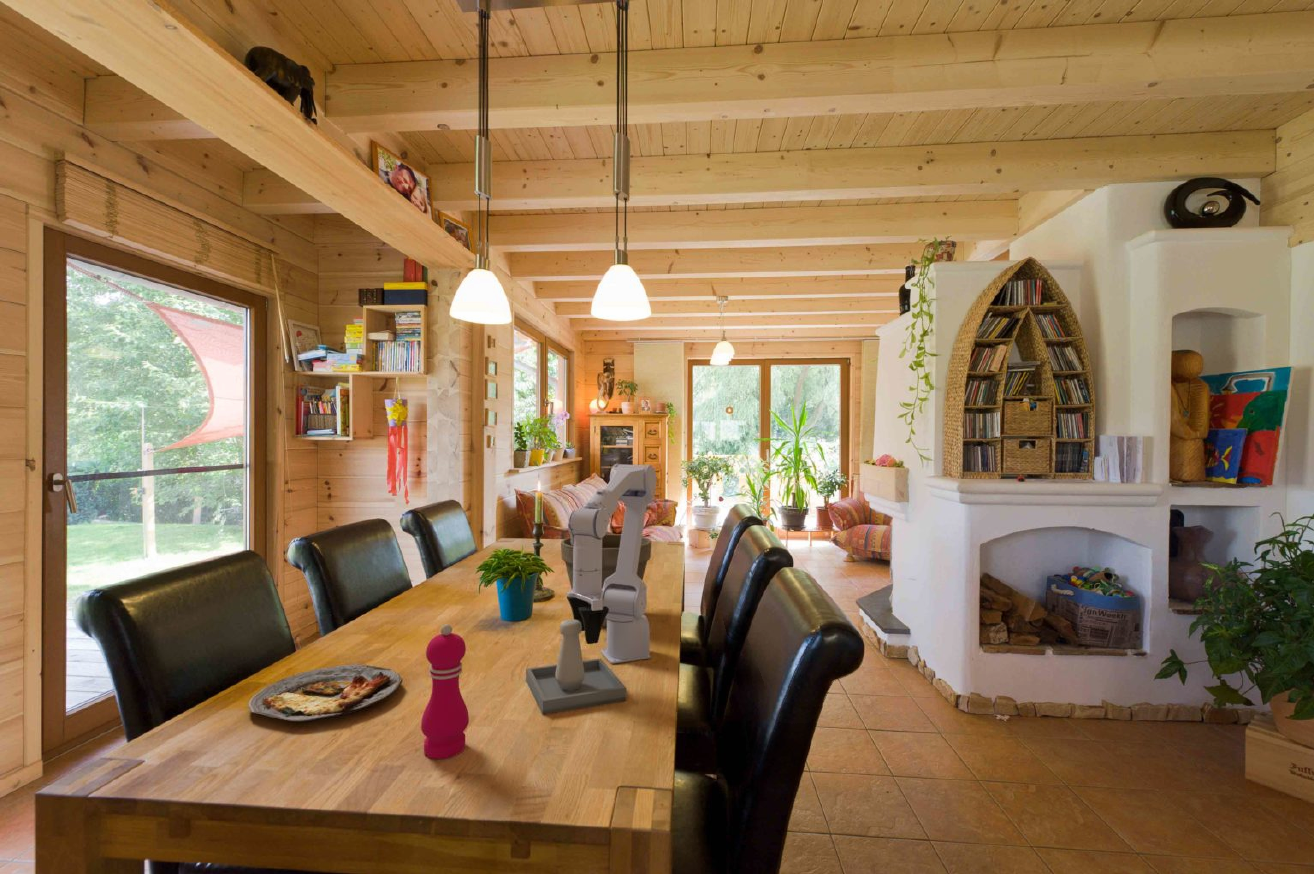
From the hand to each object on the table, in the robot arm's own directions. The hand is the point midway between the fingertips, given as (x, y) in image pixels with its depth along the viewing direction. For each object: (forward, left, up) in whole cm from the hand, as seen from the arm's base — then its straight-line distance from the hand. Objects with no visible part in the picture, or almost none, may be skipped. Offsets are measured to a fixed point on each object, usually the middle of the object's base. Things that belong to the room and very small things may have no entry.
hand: (586, 636), depth 120 cm
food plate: (+46, -13, -11) cm, 49 cm away
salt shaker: (+3, 0, -10) cm, 10 cm away
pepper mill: (+27, +14, -11) cm, 33 cm away
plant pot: (-18, -42, -11) cm, 47 cm away
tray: (+2, 0, -10) cm, 11 cm away
